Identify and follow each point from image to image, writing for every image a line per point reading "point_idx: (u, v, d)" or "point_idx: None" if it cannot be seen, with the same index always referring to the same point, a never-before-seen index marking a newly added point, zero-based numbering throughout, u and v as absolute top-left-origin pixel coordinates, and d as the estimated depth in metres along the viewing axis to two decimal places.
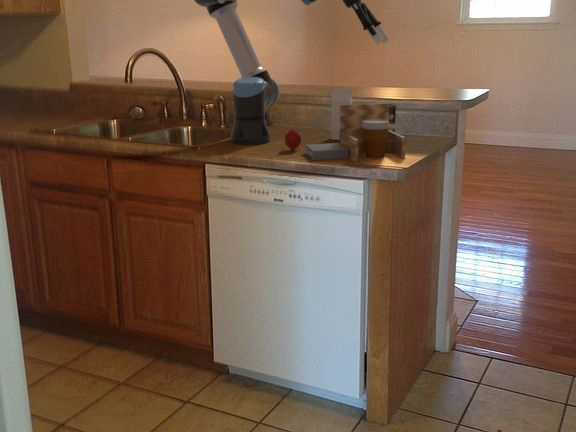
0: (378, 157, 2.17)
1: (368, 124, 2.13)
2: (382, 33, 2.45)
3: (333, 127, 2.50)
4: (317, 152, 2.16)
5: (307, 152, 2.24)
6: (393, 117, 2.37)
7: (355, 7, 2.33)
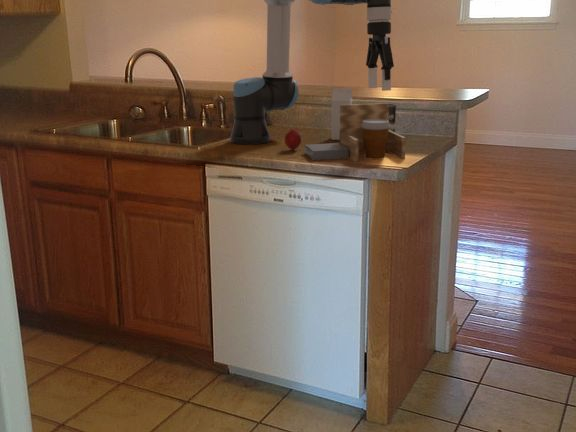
0: (378, 157, 2.17)
1: (368, 124, 2.13)
2: (374, 78, 2.21)
3: (333, 127, 2.50)
4: (317, 152, 2.16)
5: (307, 152, 2.24)
6: (393, 117, 2.37)
7: (385, 41, 2.05)
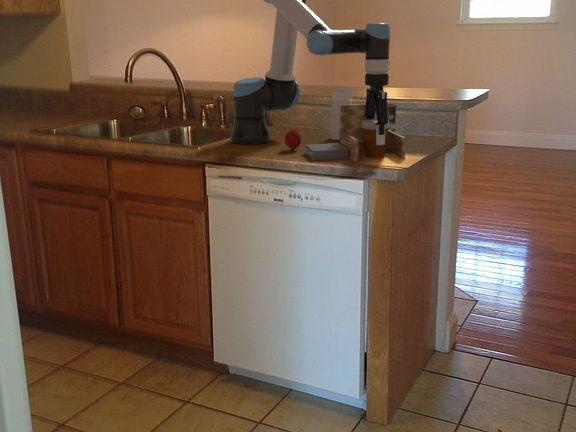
0: (378, 157, 2.17)
1: (368, 124, 2.13)
2: None
3: (333, 127, 2.50)
4: (317, 152, 2.16)
5: (307, 152, 2.24)
6: (393, 117, 2.37)
7: (382, 96, 2.08)
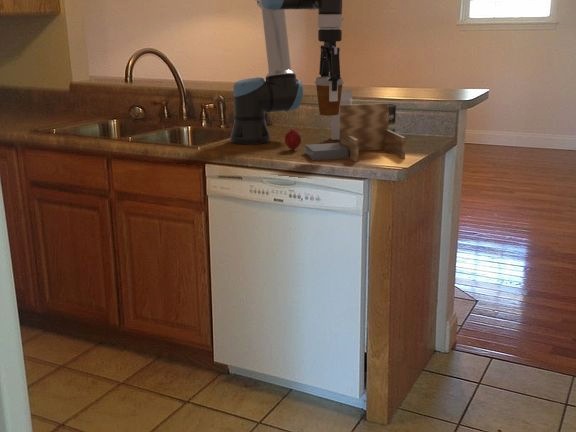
0: (332, 114, 2.17)
1: (321, 80, 2.13)
2: None
3: (333, 127, 2.50)
4: (317, 152, 2.16)
5: (307, 152, 2.24)
6: (393, 117, 2.37)
7: (334, 52, 2.07)
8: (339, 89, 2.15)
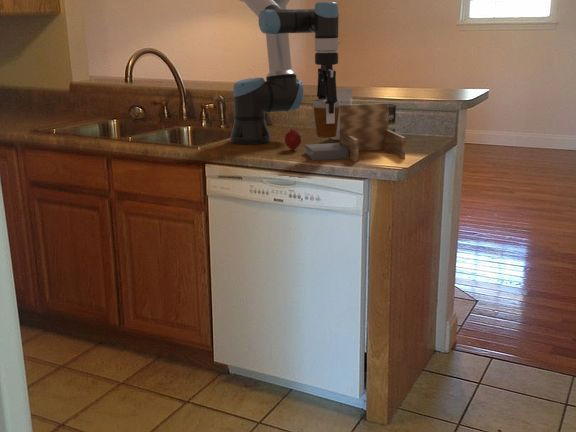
0: (329, 136, 2.18)
1: (318, 103, 2.15)
2: None
3: None
4: (317, 152, 2.16)
5: (307, 152, 2.24)
6: (393, 117, 2.37)
7: (331, 75, 2.09)
8: (336, 111, 2.16)
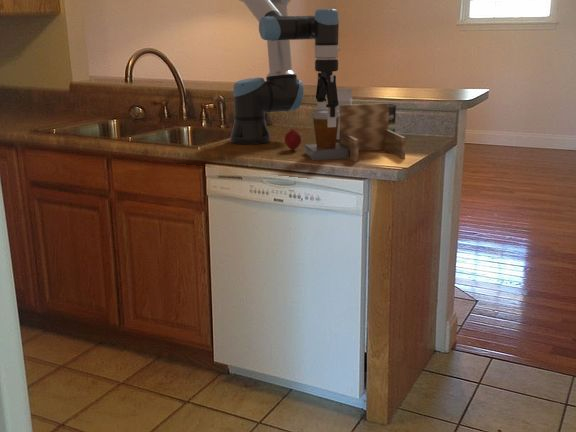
0: (328, 147, 2.19)
1: (317, 114, 2.16)
2: None
3: None
4: (317, 152, 2.16)
5: (307, 152, 2.24)
6: (393, 117, 2.37)
7: (331, 79, 2.09)
8: None
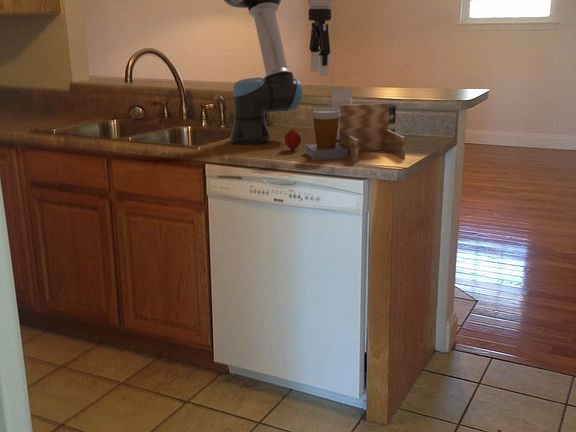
0: (328, 147, 2.19)
1: (318, 114, 2.16)
2: (316, 62, 2.29)
3: None
4: (317, 152, 2.16)
5: (307, 152, 2.24)
6: (393, 117, 2.37)
7: (323, 28, 2.13)
8: (335, 122, 2.18)
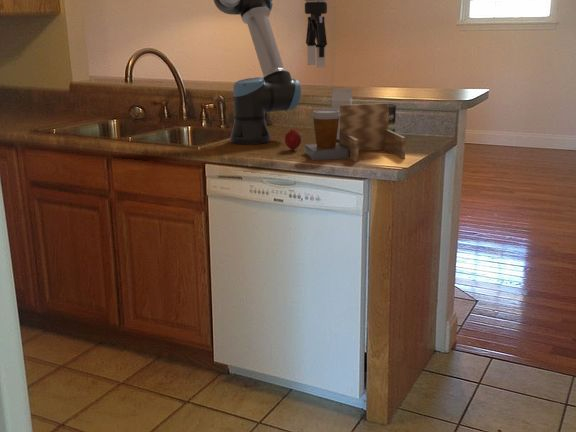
0: (328, 147, 2.19)
1: (318, 114, 2.16)
2: (313, 55, 2.34)
3: None
4: (317, 152, 2.16)
5: (307, 152, 2.24)
6: (393, 117, 2.37)
7: (320, 20, 2.18)
8: (336, 122, 2.17)
